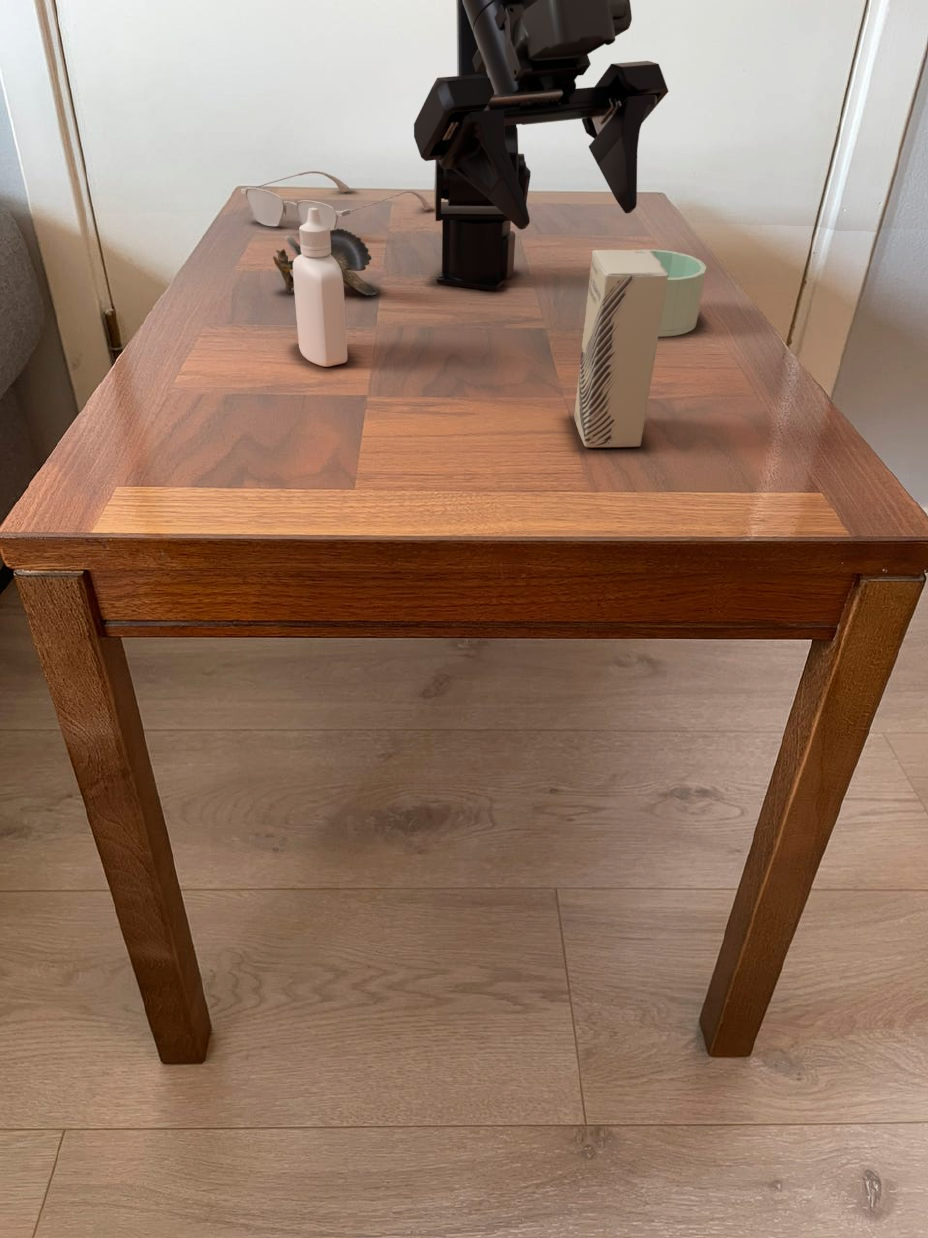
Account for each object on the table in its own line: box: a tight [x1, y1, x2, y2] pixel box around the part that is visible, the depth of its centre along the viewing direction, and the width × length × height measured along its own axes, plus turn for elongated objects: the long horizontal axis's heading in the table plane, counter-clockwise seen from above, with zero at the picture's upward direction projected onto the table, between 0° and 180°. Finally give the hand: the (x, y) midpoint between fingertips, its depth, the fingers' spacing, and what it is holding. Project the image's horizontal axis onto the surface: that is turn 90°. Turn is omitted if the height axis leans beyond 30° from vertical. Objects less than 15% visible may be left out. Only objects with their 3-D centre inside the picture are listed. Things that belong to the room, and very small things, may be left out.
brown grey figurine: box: [272, 228, 378, 297], centre depth 94 cm, size 8×7×9 cm
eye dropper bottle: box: [292, 208, 349, 368], centre depth 80 cm, size 4×6×12 cm
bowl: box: [649, 249, 708, 338], centre depth 90 cm, size 9×9×5 cm
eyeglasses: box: [240, 170, 432, 230], centre depth 116 cm, size 15×18×4 cm
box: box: [573, 249, 668, 448], centre depth 69 cm, size 5×4×13 cm
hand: (579, 218), depth 71 cm, fingers open, 9 cm apart
